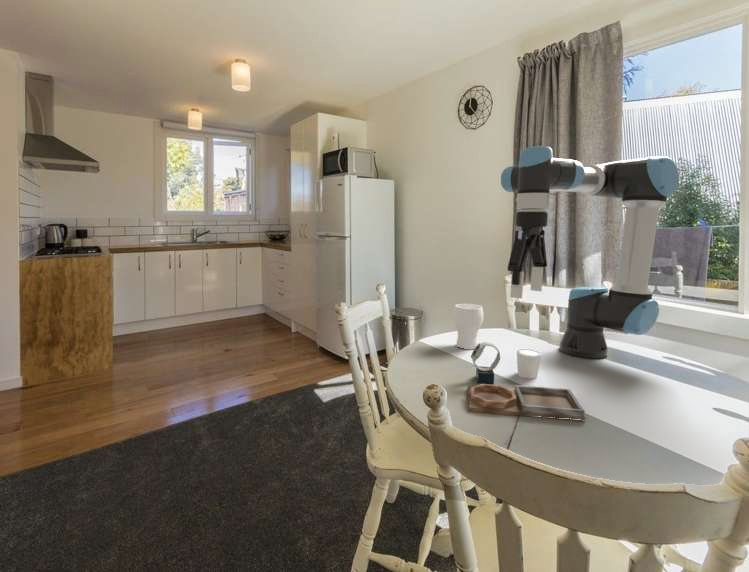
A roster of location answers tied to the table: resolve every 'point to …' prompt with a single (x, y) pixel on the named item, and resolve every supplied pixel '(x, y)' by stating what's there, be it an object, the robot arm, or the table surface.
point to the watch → (484, 373)
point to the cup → (467, 324)
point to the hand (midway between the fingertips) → (526, 294)
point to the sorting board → (524, 401)
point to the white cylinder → (528, 363)
